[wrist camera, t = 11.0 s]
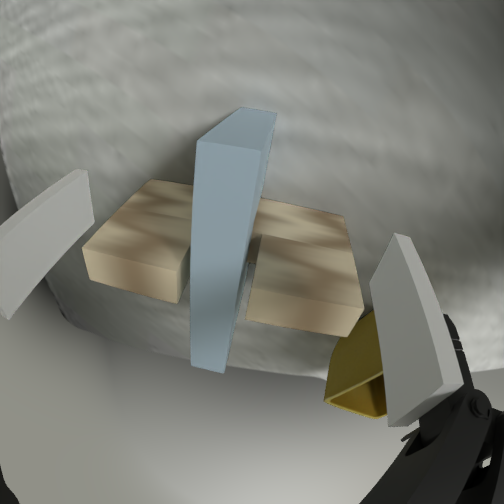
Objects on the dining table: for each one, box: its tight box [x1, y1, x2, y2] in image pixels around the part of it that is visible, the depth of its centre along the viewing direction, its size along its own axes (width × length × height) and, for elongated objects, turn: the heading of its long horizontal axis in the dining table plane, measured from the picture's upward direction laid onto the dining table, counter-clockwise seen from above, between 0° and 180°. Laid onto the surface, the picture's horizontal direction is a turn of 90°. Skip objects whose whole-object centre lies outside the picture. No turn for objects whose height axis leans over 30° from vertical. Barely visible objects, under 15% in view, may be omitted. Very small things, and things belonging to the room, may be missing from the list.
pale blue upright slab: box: [190, 107, 277, 373], centre depth 19 cm, size 16×2×10 cm, turn 171°
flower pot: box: [324, 310, 387, 419], centre depth 26 cm, size 9×9×9 cm
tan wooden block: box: [82, 179, 364, 337], centre depth 19 cm, size 16×2×10 cm, turn 81°
